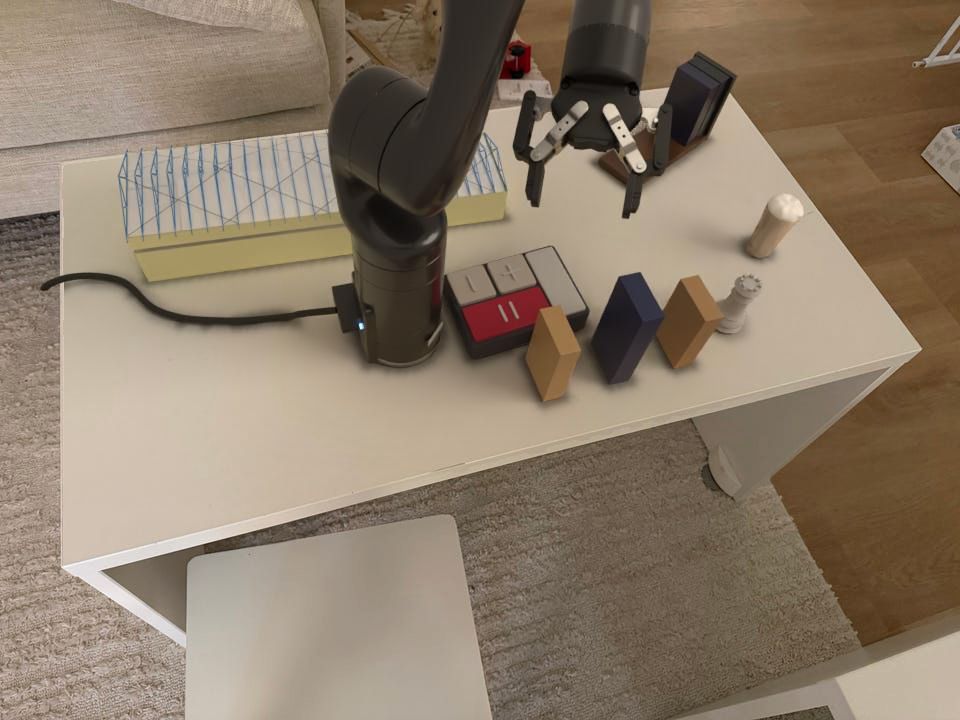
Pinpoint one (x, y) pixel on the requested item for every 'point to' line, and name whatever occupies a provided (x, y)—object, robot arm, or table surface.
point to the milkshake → (774, 224)
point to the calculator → (511, 299)
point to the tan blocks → (678, 334)
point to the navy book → (626, 327)
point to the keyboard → (259, 204)
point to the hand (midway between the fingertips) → (579, 211)
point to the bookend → (684, 112)
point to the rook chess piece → (738, 303)
